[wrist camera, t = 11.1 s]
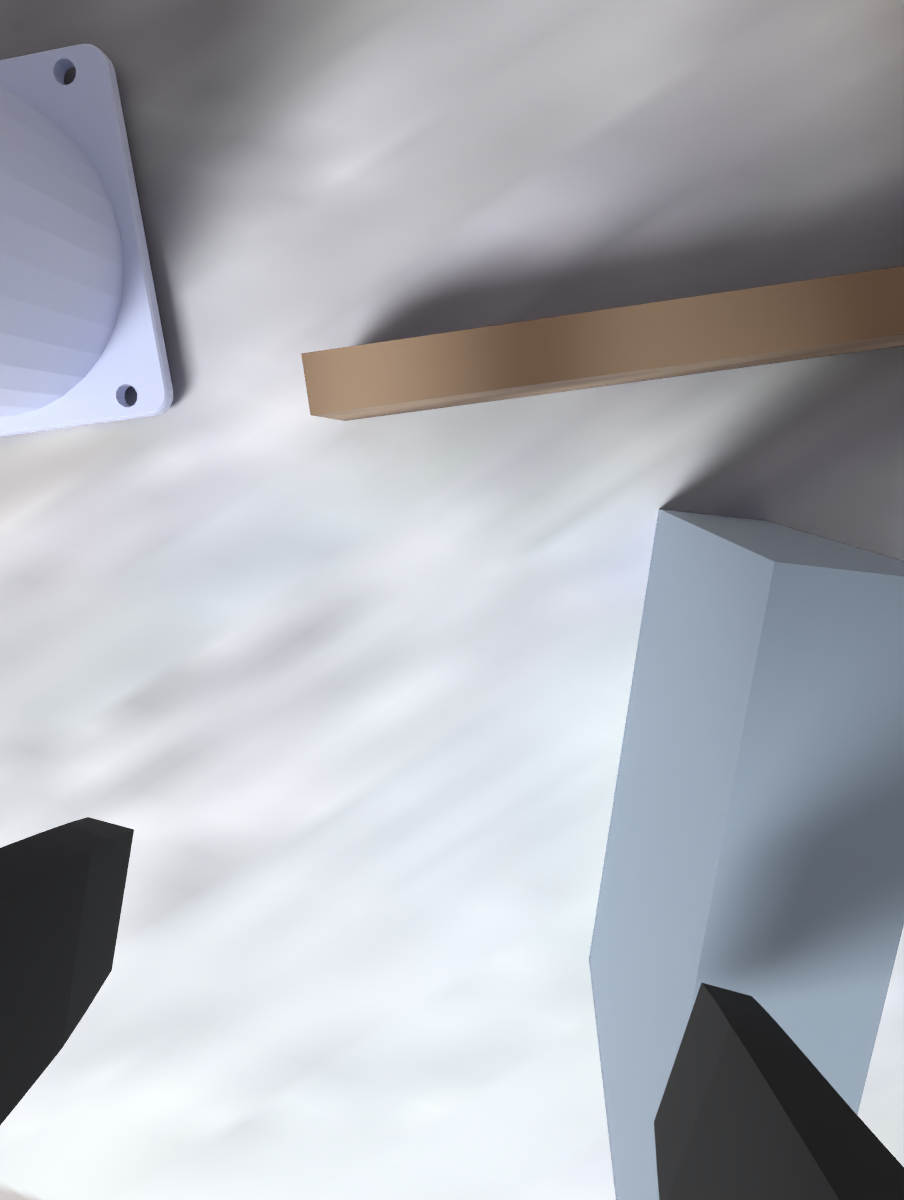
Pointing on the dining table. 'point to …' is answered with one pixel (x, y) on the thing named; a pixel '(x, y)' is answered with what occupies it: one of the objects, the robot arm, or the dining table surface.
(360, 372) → the rack
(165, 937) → the dining table surface
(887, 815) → the blue grey rectangular slab
